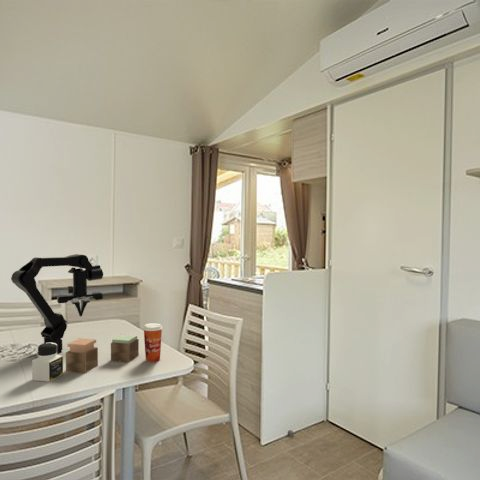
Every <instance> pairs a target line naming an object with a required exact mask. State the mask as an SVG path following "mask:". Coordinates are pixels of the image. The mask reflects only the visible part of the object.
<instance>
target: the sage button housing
mask: <svg viewBox="0 0 480 480" xmlns="http://www.w3.org/2000/svg"><path fill="white" fill-rule="evenodd" d="M139 343H140V342H139V338H137V339H136V340H134V341H133V342H131V343H129V344H122V343H113V342H112V341H111V342H110V361H113V362H115V361H116V362H123V363H124V362H125V363H126V362H127V363H130V362H131V361H133V360H134V359H136V358H137V357H138V356H140V354H139V345H140V344H139Z"/></svg>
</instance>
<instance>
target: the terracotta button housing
mask: <svg viewBox="0 0 480 480" xmlns="http://www.w3.org/2000/svg"><path fill="white" fill-rule="evenodd" d="M98 351H99V349H98V347H96V346H94V349H92V350H90V351H88V352H86V353H73V352H70V350H68V351H66V352H65V372H71V373H79V374H80V373H81V374H83V373H84V374H87V373H88V372H89V371H92V370H93V369H94V368H96V367H97V366H98V365H99V360H98V359H99V354H98V353H99V352H98Z"/></svg>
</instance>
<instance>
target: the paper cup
mask: <svg viewBox="0 0 480 480" xmlns="http://www.w3.org/2000/svg"><path fill="white" fill-rule="evenodd" d="M142 329H143V335H144V353H145V361H146V362H148V363H155V362H159V361H160V359H161V352H162V349H161V348H162V332H163V331H162V330H163V325H162V323H156V322H154V323H153V322H152V323H146V324H144V326H143V328H142Z"/></svg>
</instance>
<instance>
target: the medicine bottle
mask: <svg viewBox="0 0 480 480" xmlns="http://www.w3.org/2000/svg"><path fill="white" fill-rule="evenodd" d="M63 356H64V355H62V354H58V353H57V344H56V343H44V342H43V343H41V344H40V345H38V346H37V357H36V358H34V359H32V360H31V378H32V379H31V380H32V381H36V382H48V383H50V382H52V381H54V380H56V379H57V378H59V377H61V376H63V374H64V373H63V372H64V359H63V358H64V357H63Z"/></svg>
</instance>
